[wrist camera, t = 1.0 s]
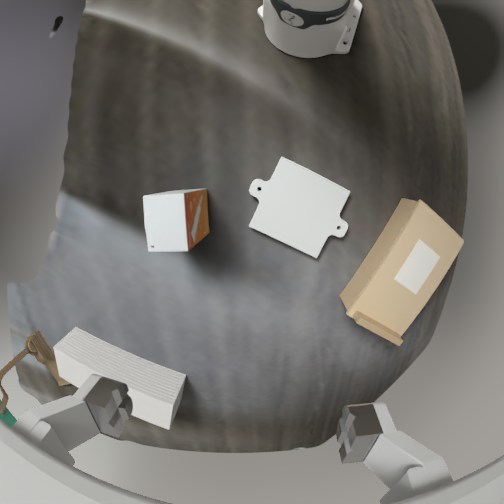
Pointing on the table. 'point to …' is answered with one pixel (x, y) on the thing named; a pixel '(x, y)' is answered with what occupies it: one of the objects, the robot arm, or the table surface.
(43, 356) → the banker's lamp
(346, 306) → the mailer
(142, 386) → the stack of papers
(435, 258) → the lid
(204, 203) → the small box
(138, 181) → the table surface
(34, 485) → the robot arm
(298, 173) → the mounting plate
